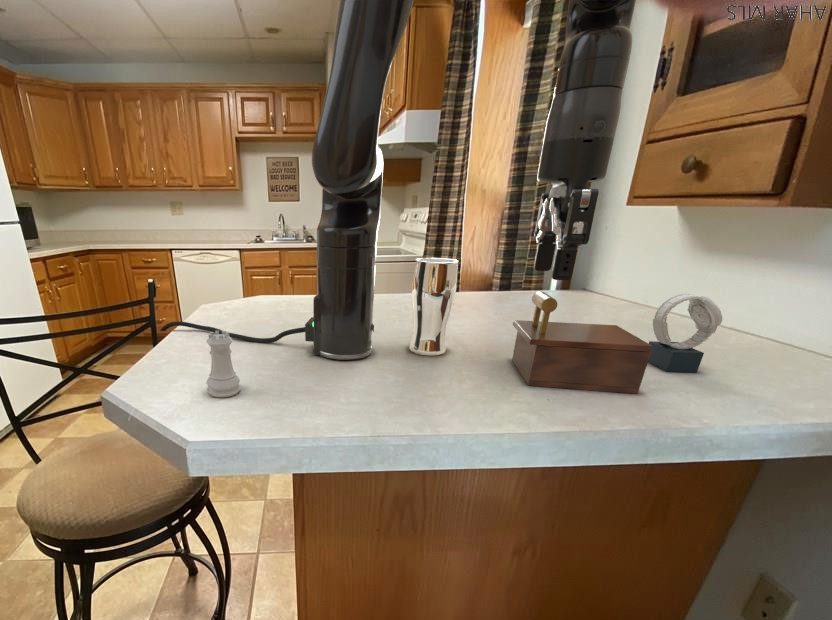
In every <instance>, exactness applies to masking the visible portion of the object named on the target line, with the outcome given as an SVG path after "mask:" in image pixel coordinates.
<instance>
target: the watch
mask: <svg viewBox="0 0 832 620" xmlns="http://www.w3.org/2000/svg"><path fill="white" fill-rule="evenodd" d="M687 301H689V303H688V305H687V312H688V314H689V316H690V319H691V320H692V321H693V322H694V325H695V330H696V332H695V333H694V334H693V335H692V336H691V337H688V338H687V339H686V340H683V341H680V342H679V341H672V339H671V336H670V333H669V328H668V327H669V326H668V325H669V324H668V322H667V320H668V315H669V313H670V312H671V311H672V310H673V309H675V307H677V306H678V305H680V304H682V303H684V302H687ZM722 322H723V313H722V311H721V309H720V308H719V306H718V304H717V303H716V302H715V301H713V299H711V298H709V297H707V296H698V295H695V294H690V293H681V294H677V295H674V296H672V297H670V298H668V299H667V300H665V301H664V302H662V304H661V305H660V306H659V307H658V308H657V310H656V311H655V315H654V318H653V319H652V329H653V333H654V335H655V338H656V340H657V341H653V340H649V341H648V344H650V345H652V346H653V348H652V351H651V354H650V357H649V360H648V363H649V364H651V365H653V366H655V367H656V368H658V369H661V370H663V371H664V372H666V373H667V372H668V373H690V374H691V373H692V374H694V373H695V374H696V373H698V371H699V368H700V365H701V363H702V361H703V358H704V354H705V352H703V351H700V350H698V349H696V347H698V346H701V345H702V344H703V343H705V342H706V341H707V340H709V338H710V337H711V336H712V335H713V334H716V331H717V329H718V326H720V325H721V324H722Z"/></svg>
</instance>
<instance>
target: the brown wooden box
mask: <svg viewBox="0 0 832 620" xmlns="http://www.w3.org/2000/svg"><path fill="white" fill-rule="evenodd" d="M516 331H517V330H516ZM512 352H513V353H512V358H511V362H512V363H513V364H514V366H515V368H516V369H517V371H518V372H519V374H520V376H521V377H522V378H523V380H524V381H525V383H526V385H527V386H528V387H530V386H531V387H542V388H552V389H553V388H555V389H568V390H581V391H595V392H605V393H607V392H608V393H619V394H620V393H621V394H633V395H634V394H635V395H638V394H639V391H640V388H641V386H642V385H641V384H642V381H643V378H644V375H645V373H646V370H647V366H648V363H649V362H648V360H649V357H650V354H651V352H645V351H628V350H611V349H594V348H577V347H560V346H544V345H529V343H528V342H527V341H526V340H525V339H524V338H523V336H522V335H521V334H520V333H519V332H518V331H517V332H516V336H515V342H514V346H513V351H512Z"/></svg>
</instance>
